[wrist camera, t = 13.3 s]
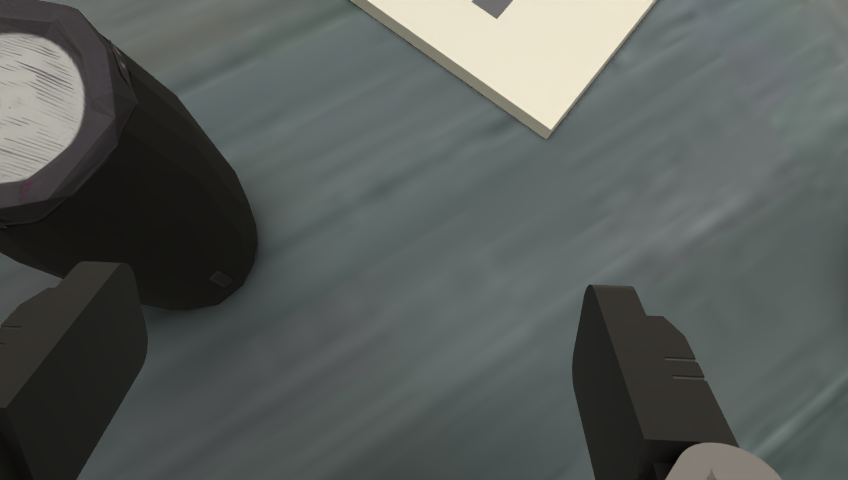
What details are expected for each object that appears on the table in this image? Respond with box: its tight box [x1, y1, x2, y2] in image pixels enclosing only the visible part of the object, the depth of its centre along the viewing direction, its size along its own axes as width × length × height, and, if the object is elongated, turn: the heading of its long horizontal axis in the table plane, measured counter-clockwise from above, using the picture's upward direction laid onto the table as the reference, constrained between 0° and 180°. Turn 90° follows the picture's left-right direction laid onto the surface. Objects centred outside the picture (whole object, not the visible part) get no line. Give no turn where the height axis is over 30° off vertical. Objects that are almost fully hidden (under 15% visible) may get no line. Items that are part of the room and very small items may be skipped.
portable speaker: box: [0, 0, 257, 310], centre depth 30 cm, size 9×9×20 cm
